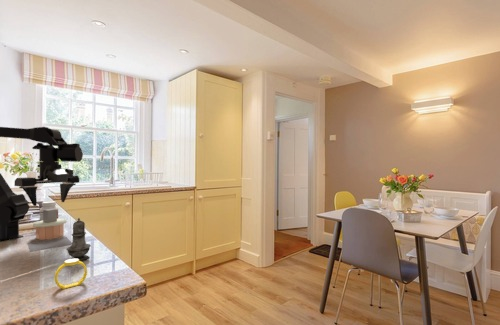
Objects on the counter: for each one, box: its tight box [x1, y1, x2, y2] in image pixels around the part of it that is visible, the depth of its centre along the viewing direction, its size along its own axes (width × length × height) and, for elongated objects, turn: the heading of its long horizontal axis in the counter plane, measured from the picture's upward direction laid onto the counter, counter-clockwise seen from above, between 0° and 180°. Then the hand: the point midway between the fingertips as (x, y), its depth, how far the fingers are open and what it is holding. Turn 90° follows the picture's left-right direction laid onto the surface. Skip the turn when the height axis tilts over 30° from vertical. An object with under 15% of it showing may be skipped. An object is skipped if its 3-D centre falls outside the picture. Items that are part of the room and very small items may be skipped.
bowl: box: [35, 223, 65, 241], centre depth 97 cm, size 8×8×5 cm
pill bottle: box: [39, 200, 59, 221], centre depth 110 cm, size 6×6×11 cm
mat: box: [27, 236, 73, 253], centre depth 88 cm, size 11×11×1 cm
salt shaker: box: [66, 217, 92, 263], centre depth 75 cm, size 6×6×12 cm
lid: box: [32, 209, 67, 228], centre depth 97 cm, size 10×10×5 cm
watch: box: [54, 258, 88, 290], centre depth 59 cm, size 6×3×6 cm, turn 130°
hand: (49, 203), depth 97 cm, fingers open, 9 cm apart
